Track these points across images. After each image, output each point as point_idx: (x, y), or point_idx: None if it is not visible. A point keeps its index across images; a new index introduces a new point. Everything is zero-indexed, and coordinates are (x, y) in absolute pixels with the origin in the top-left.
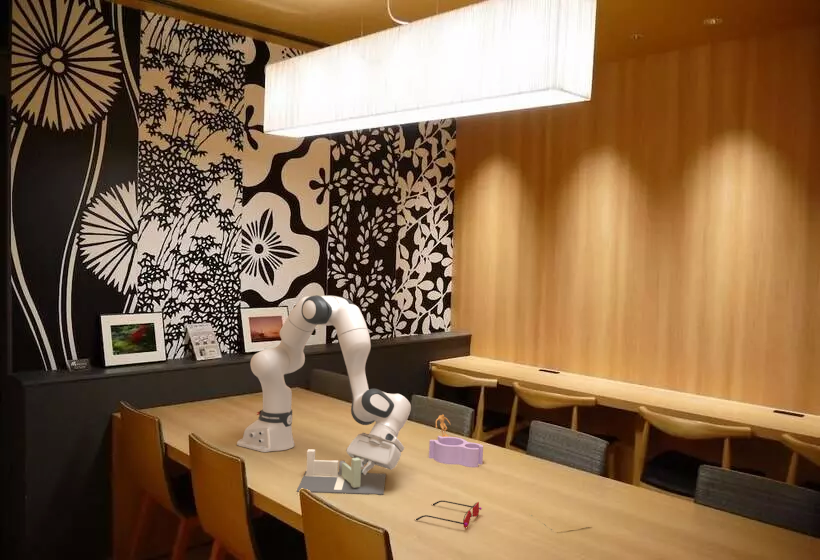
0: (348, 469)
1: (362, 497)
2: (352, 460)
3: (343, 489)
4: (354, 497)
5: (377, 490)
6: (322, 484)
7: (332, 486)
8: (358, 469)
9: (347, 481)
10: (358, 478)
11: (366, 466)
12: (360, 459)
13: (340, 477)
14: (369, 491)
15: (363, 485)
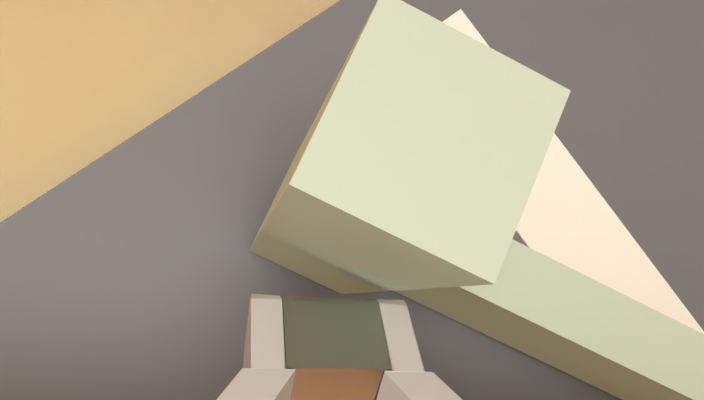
0: (592, 284)
1: (44, 70)
2: (491, 67)
3: None
4: (127, 9)
5: (4, 368)
6: (658, 55)
7: None
8: (291, 170)
9: None
10: (272, 204)
11: (243, 395)
12: (324, 191)
13: None
14: (73, 255)
15: None
